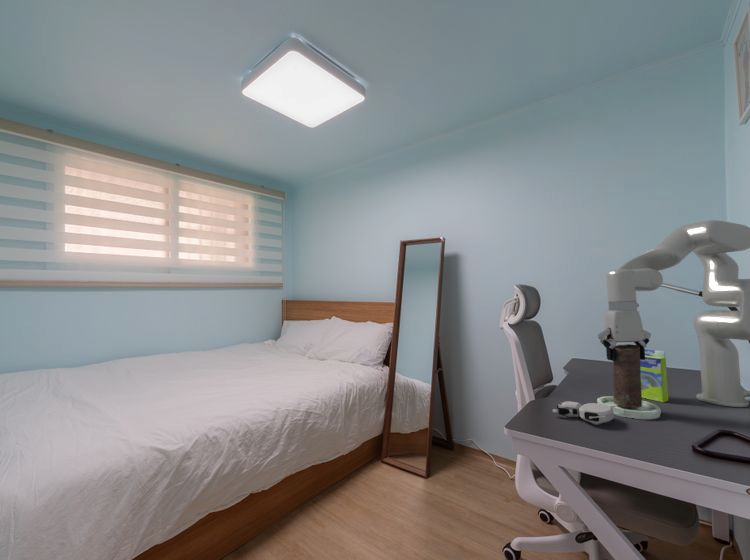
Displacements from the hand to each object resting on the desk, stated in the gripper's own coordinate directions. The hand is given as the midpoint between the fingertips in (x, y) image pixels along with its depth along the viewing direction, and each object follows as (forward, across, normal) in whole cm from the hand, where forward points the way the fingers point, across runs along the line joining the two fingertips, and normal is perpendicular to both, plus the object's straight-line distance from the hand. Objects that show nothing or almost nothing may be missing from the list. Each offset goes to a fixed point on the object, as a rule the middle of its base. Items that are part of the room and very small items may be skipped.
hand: (625, 359), depth 108 cm
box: (+17, -17, -12) cm, 27 cm away
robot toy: (+16, +19, +6) cm, 26 cm away
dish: (+16, +1, 0) cm, 16 cm away
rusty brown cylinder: (+15, 0, 0) cm, 15 cm away
